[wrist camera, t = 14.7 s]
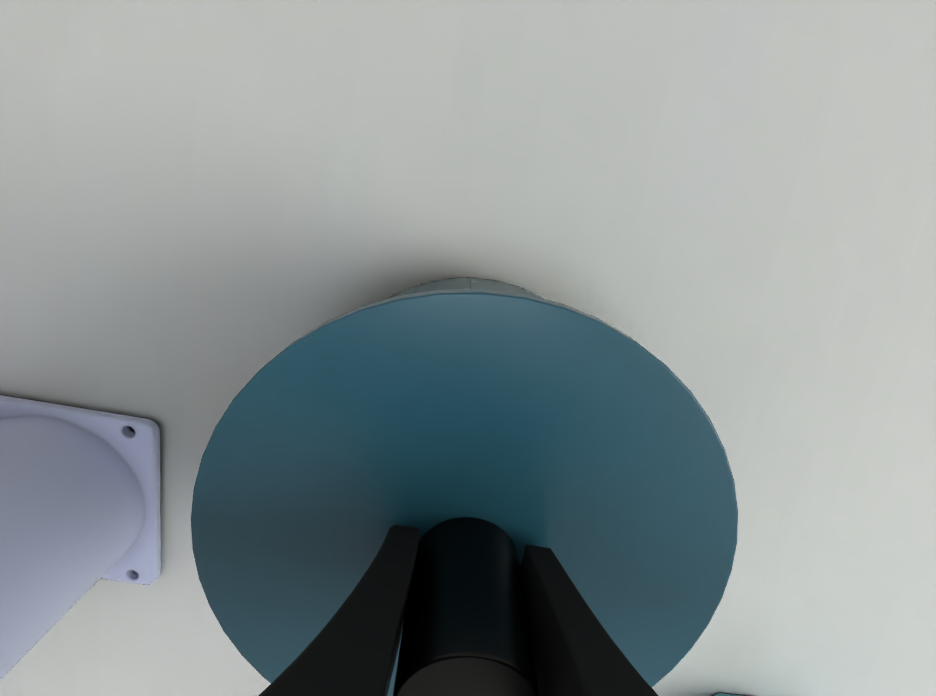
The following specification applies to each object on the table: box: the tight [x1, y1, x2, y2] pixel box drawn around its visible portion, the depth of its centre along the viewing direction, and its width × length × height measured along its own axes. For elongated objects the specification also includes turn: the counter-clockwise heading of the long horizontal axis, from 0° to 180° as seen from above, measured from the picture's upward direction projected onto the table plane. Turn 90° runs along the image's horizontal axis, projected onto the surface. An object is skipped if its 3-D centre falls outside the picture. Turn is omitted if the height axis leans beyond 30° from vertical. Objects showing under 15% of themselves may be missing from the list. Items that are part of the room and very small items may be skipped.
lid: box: [191, 289, 738, 696], centre depth 10 cm, size 13×13×5 cm
